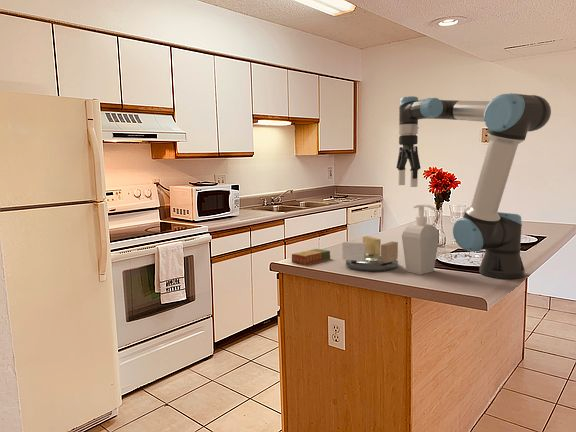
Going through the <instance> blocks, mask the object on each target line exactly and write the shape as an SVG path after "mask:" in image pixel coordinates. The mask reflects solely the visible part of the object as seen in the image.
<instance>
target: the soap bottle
mask: <svg viewBox="0 0 576 432" xmlns="http://www.w3.org/2000/svg"><path fill="white" fill-rule="evenodd" d="M413 208H414V209H418V213H417V214H418V215H415V219H414V220H415V222H414V223H411V224H409V225H407V226H406V227H405V229H404V230H403V231H402V235H401V239H402V241H401V242H402V249H403V255H404V256H403V257H404V263H405V271H406V272H409V273H413V274H417V275H423V274H427V273H432V272H434V271H435V266H436V259H437V254H438V253H437V252H438V247H439V241H440V232H439V230H438V229H437V227H436V226H434V225H433V224H428V223H427V216H426V215H425V212H424V211H425V208H429V209H431V210H433V211H435V210H436V209H437V208H436V207H435V206H433V205H431V204H425V203H424V204H418V205H414V206H413Z"/></svg>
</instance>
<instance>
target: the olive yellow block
mask: <svg viewBox="0 0 576 432" xmlns="http://www.w3.org/2000/svg"><path fill="white" fill-rule="evenodd" d="M381 241H382V240H381V238H377V237H376V238H375V237H372V236H368V235H367V236H366V235H365V236H362V243H366V255H369V256H381V245H382V244H381Z"/></svg>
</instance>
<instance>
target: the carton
mask: <svg viewBox="0 0 576 432" xmlns="http://www.w3.org/2000/svg"><path fill="white" fill-rule="evenodd" d="M328 260H331V250H327V249H320V248H315V249H314V248H313V249H310V250H305V251H304V250H303V251H300V252H295V253H291V263H293V264H297V265H303V266H307V265H313V264H315V263H320V262H325V261H328Z"/></svg>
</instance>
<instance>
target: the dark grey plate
mask: <svg viewBox="0 0 576 432" xmlns="http://www.w3.org/2000/svg"><path fill="white" fill-rule="evenodd" d="M345 267H346V268H348V269H350V270H353V271H358V272H359V271H360V272H366V271H368V273H380V272H381V273H382V272H389V271H394V270H397V269H398V267H399V261H398V259H396V260H393V261H392V263H384V262H381V255H379V256H369V254H366V260H365V261H357V262H351V260H345Z"/></svg>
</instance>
